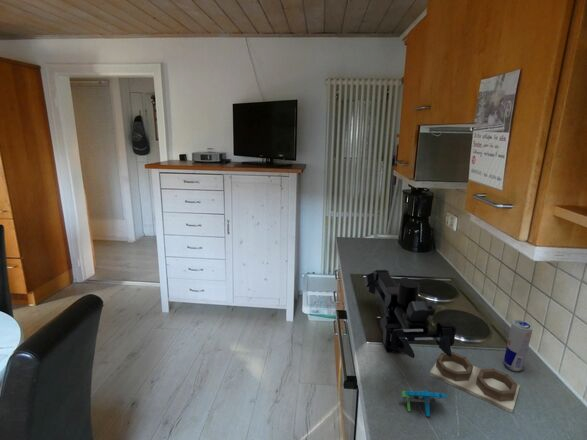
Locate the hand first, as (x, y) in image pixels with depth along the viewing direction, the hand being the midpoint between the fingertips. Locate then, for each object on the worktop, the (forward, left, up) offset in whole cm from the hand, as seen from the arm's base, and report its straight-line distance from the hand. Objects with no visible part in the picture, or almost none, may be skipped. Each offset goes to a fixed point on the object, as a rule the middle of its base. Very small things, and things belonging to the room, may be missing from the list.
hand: (432, 355), depth 85 cm
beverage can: (-14, +33, -17) cm, 40 cm away
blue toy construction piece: (-1, 0, -17) cm, 17 cm away
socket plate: (-9, +18, -17) cm, 26 cm away
